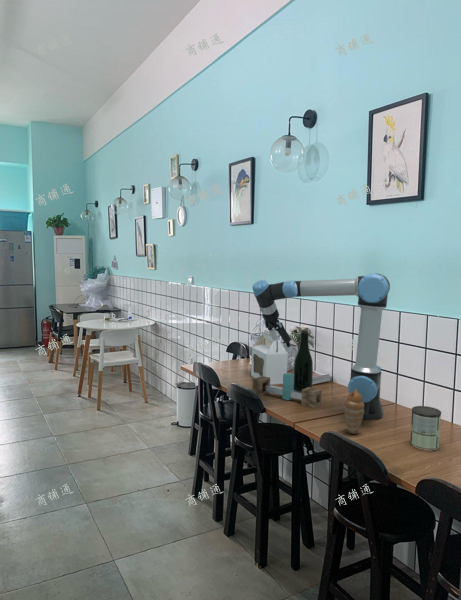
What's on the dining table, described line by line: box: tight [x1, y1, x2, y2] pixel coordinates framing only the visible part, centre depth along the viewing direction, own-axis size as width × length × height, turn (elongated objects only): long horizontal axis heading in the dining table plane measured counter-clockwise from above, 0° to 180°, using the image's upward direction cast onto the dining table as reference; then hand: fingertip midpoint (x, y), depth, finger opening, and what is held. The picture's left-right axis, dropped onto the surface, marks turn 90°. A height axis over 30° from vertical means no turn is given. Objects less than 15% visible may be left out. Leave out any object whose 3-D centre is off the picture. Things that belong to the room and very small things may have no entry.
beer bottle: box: [292, 329, 314, 392], centre depth 246 cm, size 10×10×33 cm
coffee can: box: [409, 405, 442, 450], centre depth 176 cm, size 10×10×14 cm
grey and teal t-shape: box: [265, 372, 318, 402], centre depth 230 cm, size 28×4×13 cm, turn 53°
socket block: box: [251, 376, 271, 397], centre depth 241 cm, size 5×9×8 cm, turn 143°
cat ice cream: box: [343, 389, 364, 435], centre depth 187 cm, size 9×8×18 cm
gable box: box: [250, 329, 289, 385], centre depth 269 cm, size 22×13×28 cm, turn 19°
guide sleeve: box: [300, 386, 323, 409], centre depth 224 cm, size 7×7×8 cm
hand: (282, 345), depth 228 cm, fingers open, 13 cm apart
